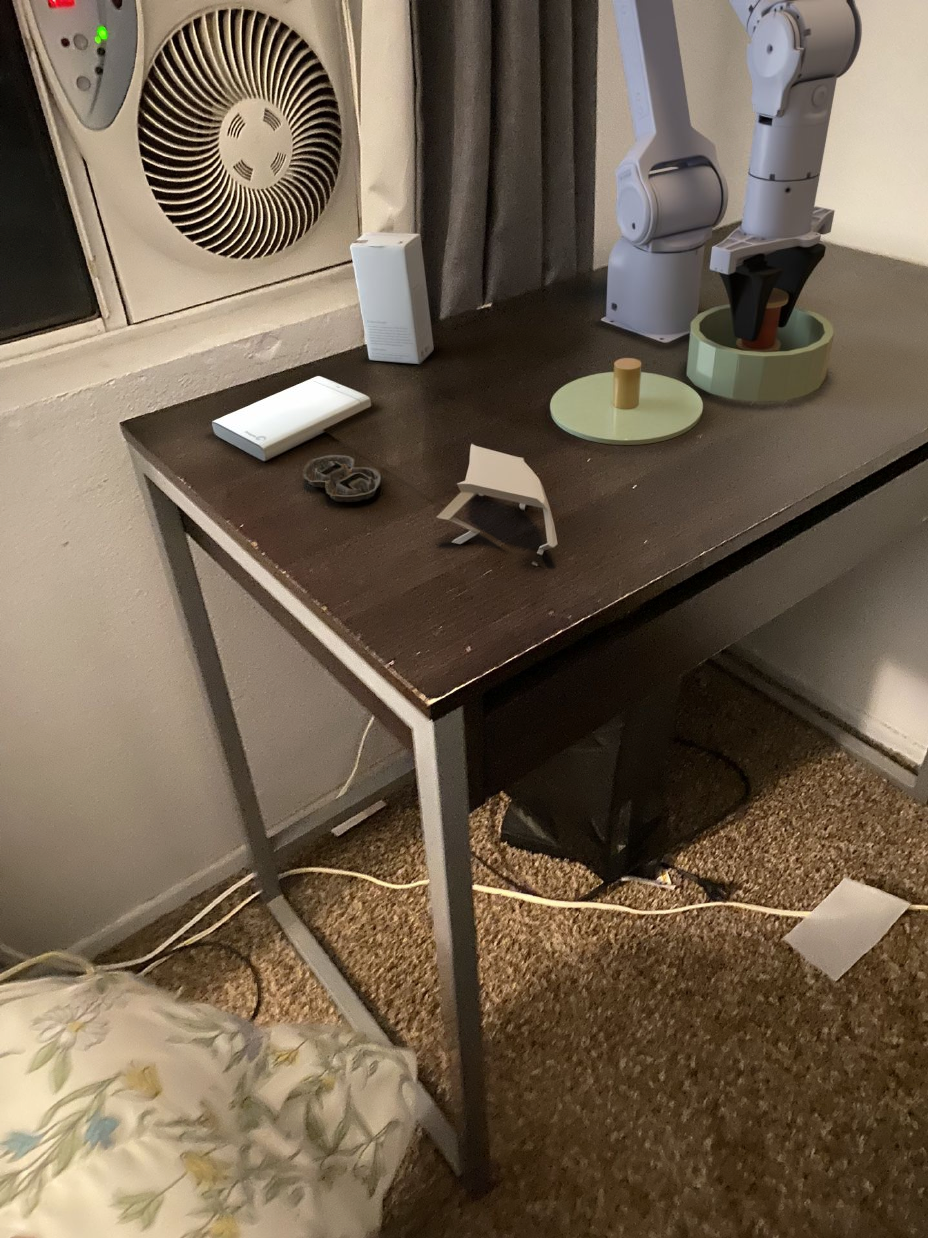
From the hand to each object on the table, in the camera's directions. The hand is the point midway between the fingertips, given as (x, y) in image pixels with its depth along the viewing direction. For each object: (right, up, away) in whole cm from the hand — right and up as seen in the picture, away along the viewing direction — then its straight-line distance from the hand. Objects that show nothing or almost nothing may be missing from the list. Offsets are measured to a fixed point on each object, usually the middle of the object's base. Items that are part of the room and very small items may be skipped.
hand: (759, 331), depth 84 cm
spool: (0, -1, +1) cm, 2 cm away
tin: (0, -3, +3) cm, 5 cm away
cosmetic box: (-34, +1, +12) cm, 36 cm away
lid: (-13, -8, -2) cm, 15 cm away
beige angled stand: (-24, -20, -15) cm, 35 cm away
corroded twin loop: (-37, -16, -8) cm, 41 cm away
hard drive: (-43, -8, +2) cm, 44 cm away
